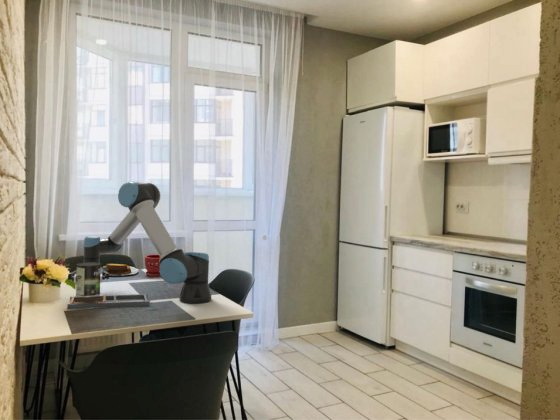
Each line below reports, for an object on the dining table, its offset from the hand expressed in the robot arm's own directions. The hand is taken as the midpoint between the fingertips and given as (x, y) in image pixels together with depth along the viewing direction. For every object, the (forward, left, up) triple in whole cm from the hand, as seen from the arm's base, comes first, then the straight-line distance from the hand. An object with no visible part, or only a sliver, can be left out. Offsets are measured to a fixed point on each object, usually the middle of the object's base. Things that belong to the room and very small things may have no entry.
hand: (87, 279), depth 208 cm
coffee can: (+3, -3, -8) cm, 9 cm away
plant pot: (+29, -75, -12) cm, 81 cm away
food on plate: (+51, -66, -12) cm, 84 cm away
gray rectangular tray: (-3, -10, -12) cm, 16 cm away
